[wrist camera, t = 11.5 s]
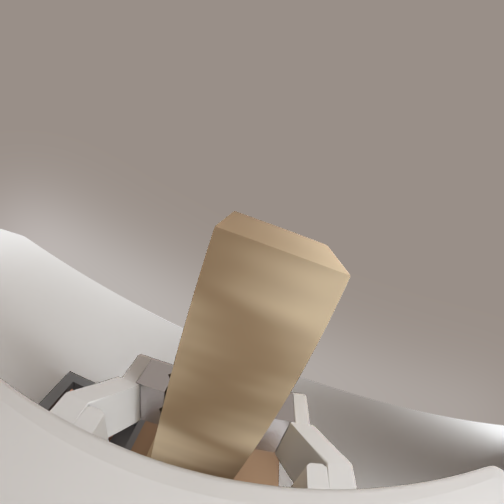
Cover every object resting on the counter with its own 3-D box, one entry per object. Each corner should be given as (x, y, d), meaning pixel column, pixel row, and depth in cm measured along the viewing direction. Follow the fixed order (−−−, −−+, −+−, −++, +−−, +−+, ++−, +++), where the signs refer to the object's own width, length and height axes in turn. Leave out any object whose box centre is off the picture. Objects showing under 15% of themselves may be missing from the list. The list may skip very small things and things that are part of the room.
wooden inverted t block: (228, 424, 18) (316, 224, 14) (189, 607, 4) (524, 503, 1) (173, 405, 18) (239, 196, 14) (99, 579, 4) (-69, 372, 1)
